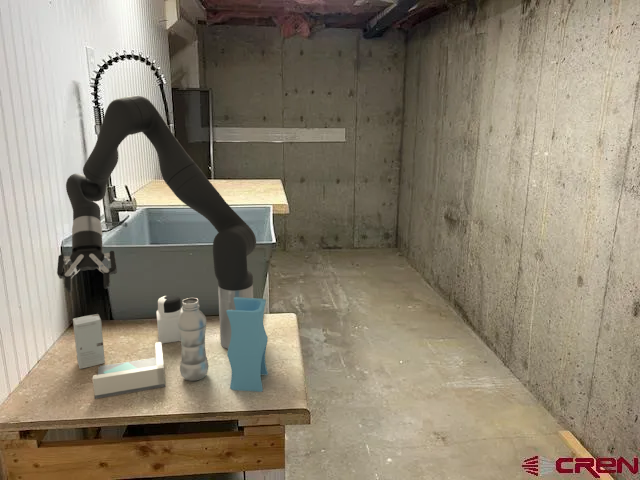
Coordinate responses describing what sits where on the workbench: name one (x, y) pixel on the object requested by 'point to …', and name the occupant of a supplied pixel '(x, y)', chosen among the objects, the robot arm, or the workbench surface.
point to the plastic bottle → (192, 341)
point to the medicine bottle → (168, 318)
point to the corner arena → (130, 376)
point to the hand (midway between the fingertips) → (88, 289)
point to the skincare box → (89, 341)
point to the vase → (247, 344)
